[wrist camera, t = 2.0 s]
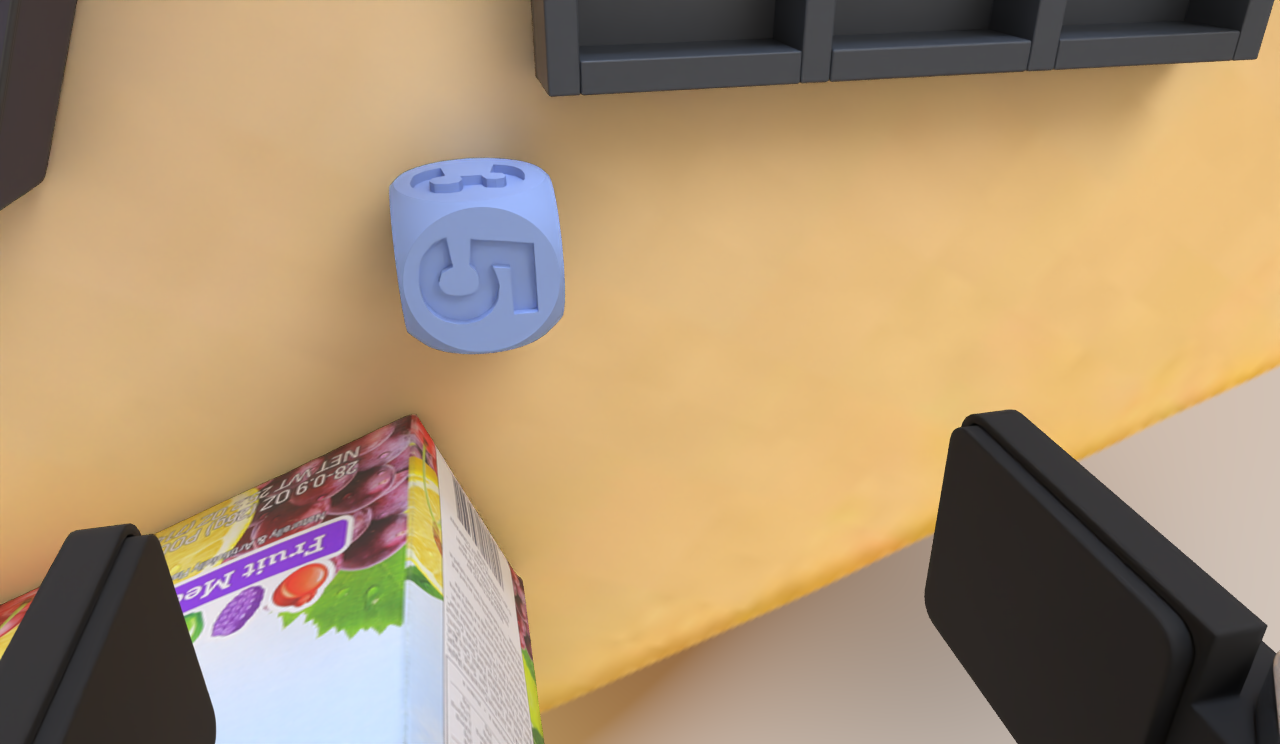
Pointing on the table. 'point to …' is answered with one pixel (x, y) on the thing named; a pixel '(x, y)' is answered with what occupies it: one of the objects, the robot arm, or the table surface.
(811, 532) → the table surface
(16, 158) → the calculator
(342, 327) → the table surface
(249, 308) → the table surface
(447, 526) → the snack box
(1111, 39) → the grid tray
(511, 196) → the decorative dice
